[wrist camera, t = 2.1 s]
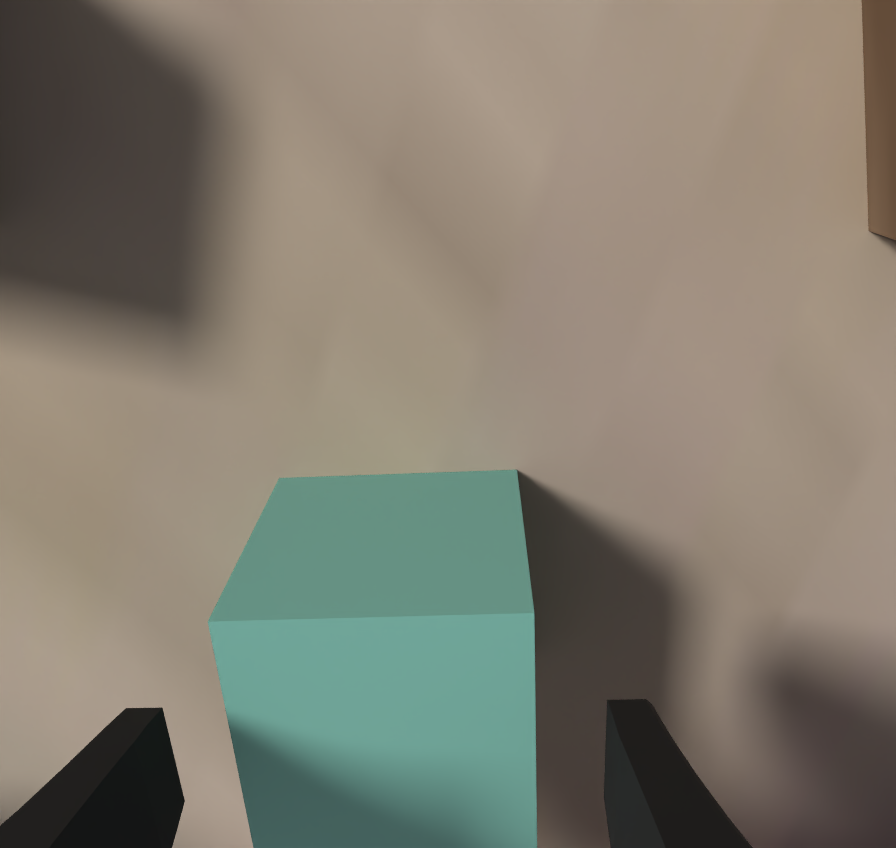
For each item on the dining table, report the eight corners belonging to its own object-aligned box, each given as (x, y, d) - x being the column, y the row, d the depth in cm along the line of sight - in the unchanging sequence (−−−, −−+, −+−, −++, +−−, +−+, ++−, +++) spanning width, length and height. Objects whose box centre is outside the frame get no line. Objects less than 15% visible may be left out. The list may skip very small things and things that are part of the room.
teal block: (308, 666, 19) (255, 854, 14) (280, 476, 17) (207, 621, 12) (520, 661, 19) (537, 850, 14) (516, 468, 17) (534, 613, 12)
